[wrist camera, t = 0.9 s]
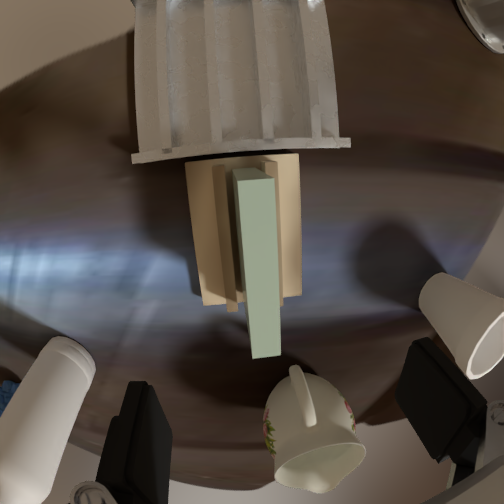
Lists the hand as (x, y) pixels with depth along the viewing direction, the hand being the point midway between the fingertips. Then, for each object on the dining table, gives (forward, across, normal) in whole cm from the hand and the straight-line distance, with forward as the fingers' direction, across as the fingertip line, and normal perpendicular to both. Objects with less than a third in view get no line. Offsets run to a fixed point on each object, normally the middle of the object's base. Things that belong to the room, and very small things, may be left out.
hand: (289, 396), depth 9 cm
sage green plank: (+19, 0, 0) cm, 19 cm away
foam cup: (+21, -25, +11) cm, 34 cm away
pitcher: (+21, -5, +22) cm, 31 cm away
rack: (+20, 0, -16) cm, 26 cm away
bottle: (+21, +25, +15) cm, 36 cm away
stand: (+20, 0, 0) cm, 21 cm away
